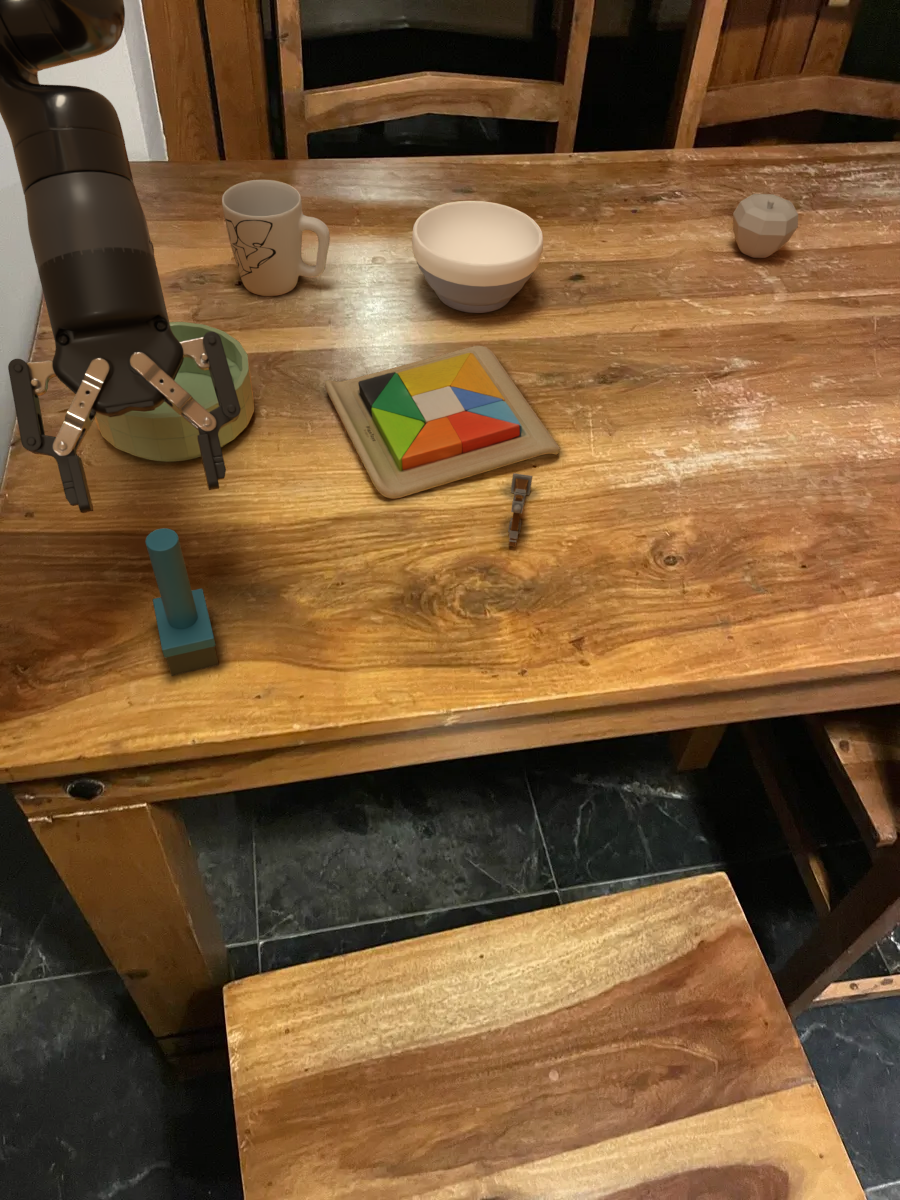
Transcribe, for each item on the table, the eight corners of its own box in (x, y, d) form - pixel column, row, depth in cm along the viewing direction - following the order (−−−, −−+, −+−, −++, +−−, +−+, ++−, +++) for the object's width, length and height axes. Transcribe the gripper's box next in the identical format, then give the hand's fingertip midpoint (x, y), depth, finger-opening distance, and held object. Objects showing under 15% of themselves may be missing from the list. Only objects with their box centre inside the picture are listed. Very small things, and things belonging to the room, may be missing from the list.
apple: (748, 272, 114) (764, 221, 109) (711, 241, 119) (725, 190, 114) (800, 261, 116) (818, 210, 112) (762, 231, 121) (778, 181, 116)
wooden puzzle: (321, 392, 95) (319, 362, 92) (491, 358, 100) (494, 329, 97) (377, 505, 84) (377, 476, 82) (563, 460, 90) (569, 432, 87)
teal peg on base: (220, 666, 72) (196, 560, 63) (170, 678, 71) (138, 571, 62) (208, 616, 75) (184, 508, 66) (160, 627, 74) (128, 519, 65)
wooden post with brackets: (500, 548, 80) (507, 498, 78) (506, 517, 87) (513, 471, 86) (521, 551, 80) (529, 502, 78) (525, 519, 87) (532, 473, 85)
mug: (340, 271, 110) (336, 187, 102) (323, 310, 104) (318, 225, 97) (245, 259, 110) (235, 175, 103) (223, 297, 105) (210, 211, 97)
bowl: (448, 249, 114) (451, 187, 108) (556, 284, 110) (565, 222, 104) (387, 304, 106) (387, 240, 100) (501, 344, 102) (508, 280, 96)
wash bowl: (158, 492, 84) (145, 440, 80) (68, 415, 90) (51, 363, 86) (286, 421, 91) (281, 370, 87) (195, 355, 98) (185, 304, 93)
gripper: (-31, 257, 57) (34, 518, 59) (204, 230, 61) (258, 477, 62) (-6, 290, 64) (51, 521, 66) (203, 264, 68) (252, 484, 70)
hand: (152, 500), depth 64 cm, fingers open, 8 cm apart
